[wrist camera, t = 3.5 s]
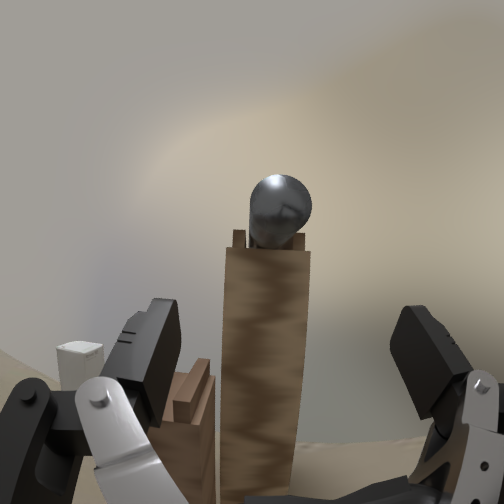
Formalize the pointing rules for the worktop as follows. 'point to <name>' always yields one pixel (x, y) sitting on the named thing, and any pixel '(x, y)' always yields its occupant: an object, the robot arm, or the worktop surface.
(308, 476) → the worktop surface
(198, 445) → the tall wooden post
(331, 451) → the worktop surface
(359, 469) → the worktop surface
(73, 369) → the skincare box
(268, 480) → the stand
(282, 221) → the pin
